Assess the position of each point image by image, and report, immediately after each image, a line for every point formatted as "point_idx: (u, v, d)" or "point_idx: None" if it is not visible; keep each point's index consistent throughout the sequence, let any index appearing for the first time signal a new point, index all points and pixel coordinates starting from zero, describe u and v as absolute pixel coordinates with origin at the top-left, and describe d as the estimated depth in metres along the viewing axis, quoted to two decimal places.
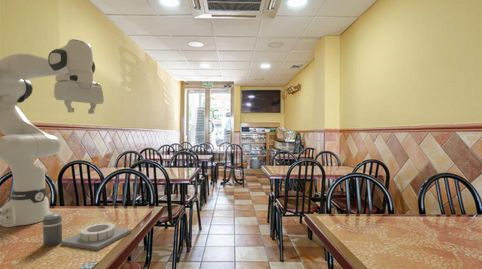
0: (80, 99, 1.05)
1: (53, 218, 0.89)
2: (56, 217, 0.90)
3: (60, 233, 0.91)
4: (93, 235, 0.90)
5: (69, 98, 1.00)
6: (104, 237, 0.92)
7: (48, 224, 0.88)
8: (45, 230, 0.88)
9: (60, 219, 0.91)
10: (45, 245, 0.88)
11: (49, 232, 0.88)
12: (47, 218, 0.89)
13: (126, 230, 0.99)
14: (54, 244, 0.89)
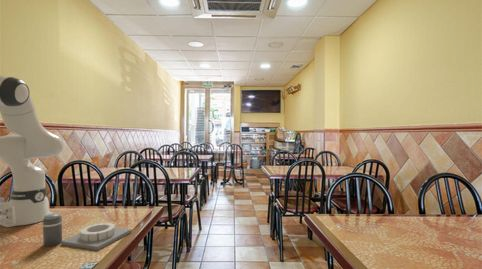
0: None
1: (53, 218, 0.89)
2: (56, 217, 0.90)
3: (60, 233, 0.91)
4: (93, 235, 0.90)
5: None
6: (104, 237, 0.92)
7: (48, 224, 0.88)
8: (45, 230, 0.88)
9: (60, 219, 0.91)
10: (45, 245, 0.88)
11: (49, 232, 0.88)
12: (47, 218, 0.89)
13: (126, 230, 0.99)
14: (54, 244, 0.89)
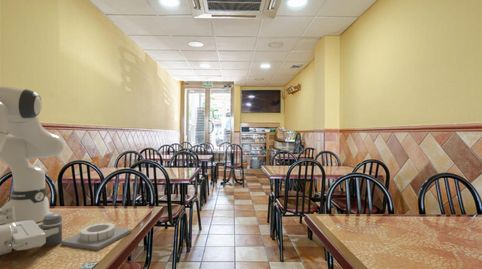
0: None
1: (53, 218, 0.89)
2: (56, 217, 0.90)
3: (60, 233, 0.91)
4: (93, 235, 0.90)
5: None
6: (104, 237, 0.92)
7: (48, 224, 0.88)
8: None
9: (60, 219, 0.91)
10: (45, 245, 0.88)
11: None
12: (47, 218, 0.89)
13: (126, 230, 0.99)
14: (54, 244, 0.89)
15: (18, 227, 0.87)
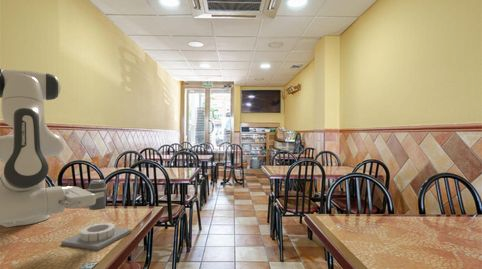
0: None
1: (99, 183, 0.93)
2: (101, 182, 0.94)
3: (104, 198, 0.95)
4: (93, 235, 0.90)
5: None
6: (104, 237, 0.92)
7: (94, 188, 0.92)
8: None
9: (104, 184, 0.95)
10: (91, 208, 0.92)
11: None
12: (93, 182, 0.93)
13: (126, 230, 0.99)
14: (100, 208, 0.93)
15: None
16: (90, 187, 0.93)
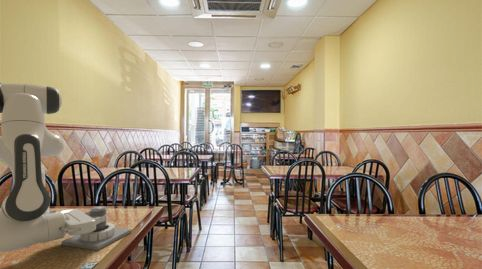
0: None
1: (99, 210, 0.93)
2: (102, 209, 0.94)
3: (105, 225, 0.95)
4: (93, 235, 0.90)
5: None
6: (104, 237, 0.92)
7: (95, 216, 0.93)
8: None
9: (105, 211, 0.95)
10: None
11: None
12: (94, 210, 0.93)
13: (126, 230, 0.99)
14: None
15: None
16: (91, 215, 0.93)
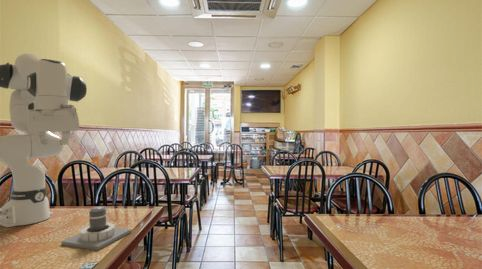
0: (44, 129, 0.89)
1: (99, 210, 0.93)
2: (102, 210, 0.94)
3: (105, 225, 0.95)
4: (93, 235, 0.90)
5: (34, 129, 0.91)
6: (104, 237, 0.92)
7: (95, 216, 0.92)
8: (92, 222, 0.92)
9: (105, 212, 0.95)
10: None
11: (96, 223, 0.93)
12: (94, 210, 0.93)
13: (126, 230, 0.99)
14: None
15: None
16: (90, 215, 0.93)
